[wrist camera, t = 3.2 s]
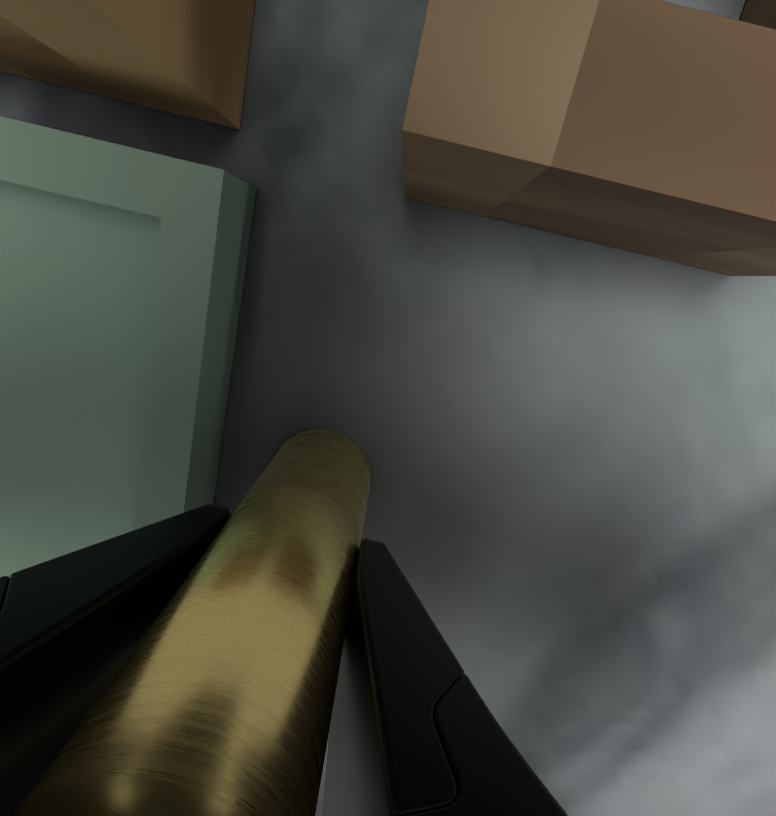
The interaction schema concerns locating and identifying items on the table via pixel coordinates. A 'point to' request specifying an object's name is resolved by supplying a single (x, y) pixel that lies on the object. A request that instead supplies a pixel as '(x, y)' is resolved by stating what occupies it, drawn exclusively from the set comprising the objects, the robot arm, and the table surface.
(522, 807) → the robot arm
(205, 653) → the brass pin
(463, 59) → the walnut block
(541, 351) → the table surface
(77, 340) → the green tray
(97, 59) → the oak block
